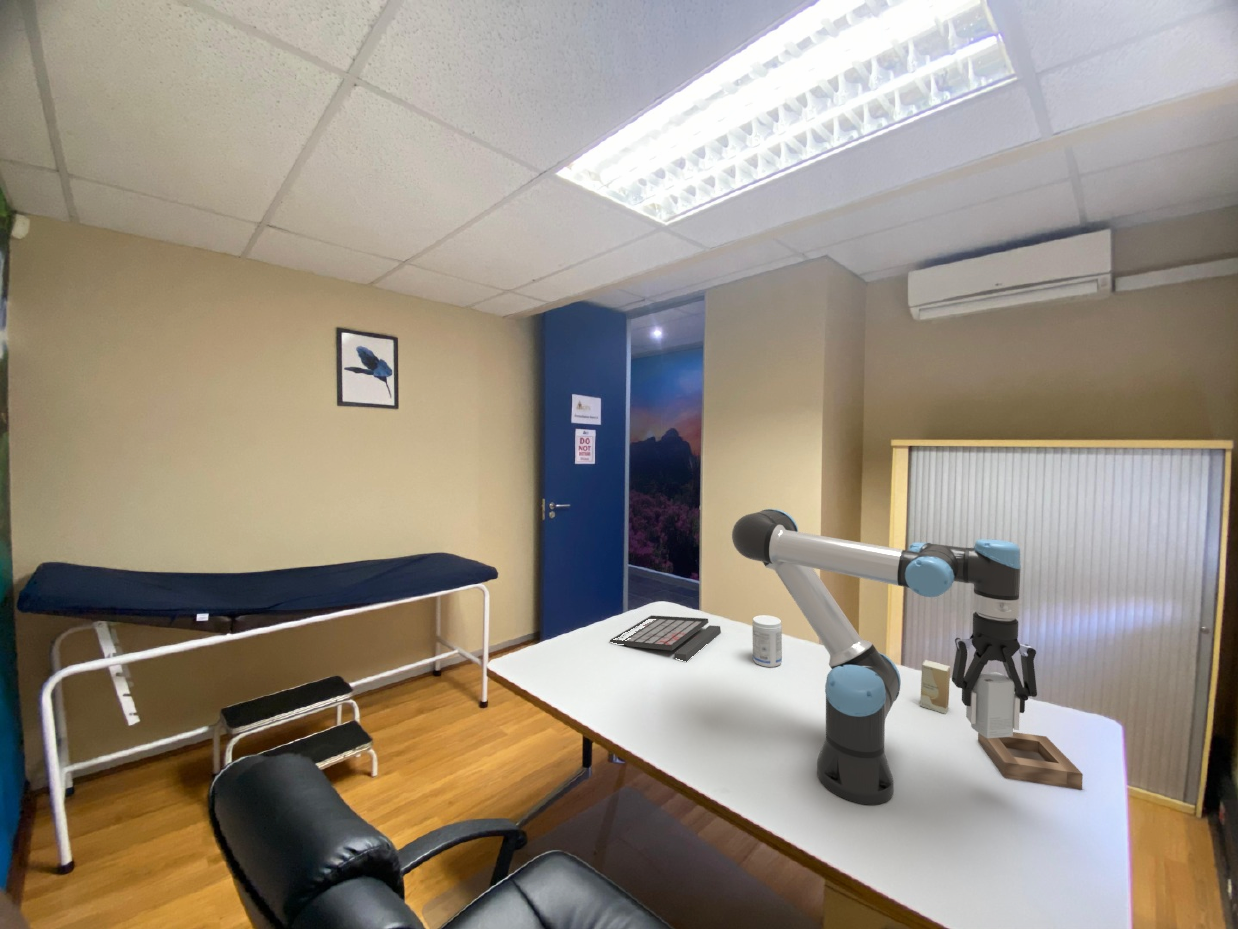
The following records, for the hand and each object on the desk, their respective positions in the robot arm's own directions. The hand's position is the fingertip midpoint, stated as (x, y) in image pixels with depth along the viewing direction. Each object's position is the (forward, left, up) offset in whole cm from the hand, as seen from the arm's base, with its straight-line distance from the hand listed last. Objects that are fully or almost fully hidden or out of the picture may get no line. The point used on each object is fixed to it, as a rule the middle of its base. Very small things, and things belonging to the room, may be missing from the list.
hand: (991, 723), depth 103 cm
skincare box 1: (0, +36, -16) cm, 39 cm away
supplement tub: (-45, +54, -16) cm, 72 cm away
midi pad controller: (-82, +66, -16) cm, 106 cm away
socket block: (+12, +14, -15) cm, 24 cm away
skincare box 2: (0, 0, -2) cm, 2 cm away
